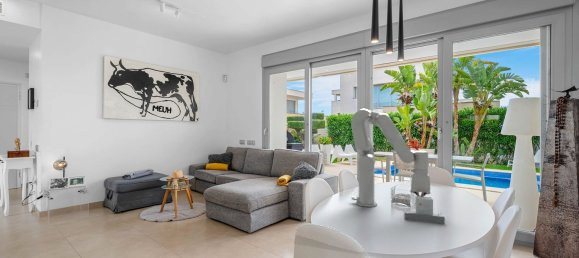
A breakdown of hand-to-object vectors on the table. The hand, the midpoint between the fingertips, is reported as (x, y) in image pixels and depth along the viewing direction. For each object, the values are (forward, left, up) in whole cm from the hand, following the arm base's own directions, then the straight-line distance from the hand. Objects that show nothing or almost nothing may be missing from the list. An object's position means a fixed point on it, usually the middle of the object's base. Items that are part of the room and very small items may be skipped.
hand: (419, 203), depth 164 cm
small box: (+1, -14, -4) cm, 15 cm away
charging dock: (+1, -15, -4) cm, 15 cm away
